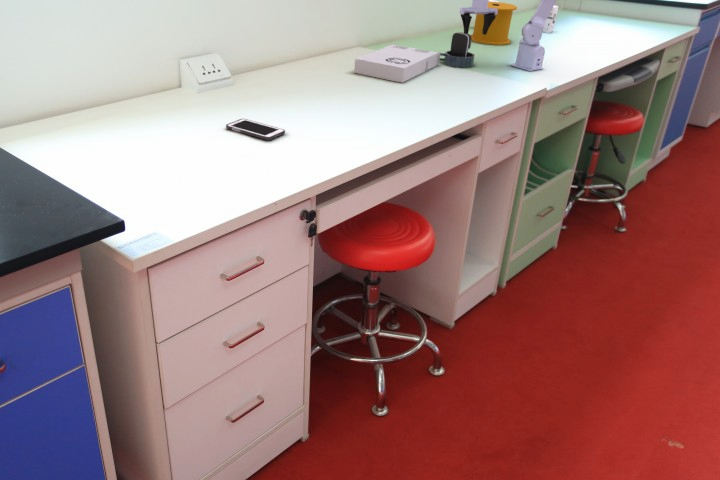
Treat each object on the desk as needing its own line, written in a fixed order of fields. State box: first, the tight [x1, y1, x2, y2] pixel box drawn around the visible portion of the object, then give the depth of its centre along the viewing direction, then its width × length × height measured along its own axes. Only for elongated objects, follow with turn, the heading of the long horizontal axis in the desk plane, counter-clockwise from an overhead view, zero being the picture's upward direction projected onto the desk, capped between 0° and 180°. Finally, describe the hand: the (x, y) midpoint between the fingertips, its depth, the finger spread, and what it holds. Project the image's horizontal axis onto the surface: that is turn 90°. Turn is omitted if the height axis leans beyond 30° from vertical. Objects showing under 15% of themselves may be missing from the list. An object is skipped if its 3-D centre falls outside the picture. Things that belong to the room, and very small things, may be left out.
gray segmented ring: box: [439, 50, 476, 69], centre depth 256 cm, size 14×11×4 cm
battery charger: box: [449, 31, 472, 57], centre depth 254 cm, size 7×4×11 cm, turn 46°
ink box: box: [537, 4, 560, 34], centre depth 321 cm, size 9×5×12 cm, turn 48°
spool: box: [470, 1, 518, 46], centre depth 294 cm, size 18×18×15 cm
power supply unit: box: [353, 43, 442, 84], centre depth 244 cm, size 19×33×5 cm, turn 149°
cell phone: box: [225, 118, 286, 141], centre depth 180 cm, size 8×15×1 cm, turn 57°
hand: (475, 34), depth 256 cm, fingers open, 7 cm apart
